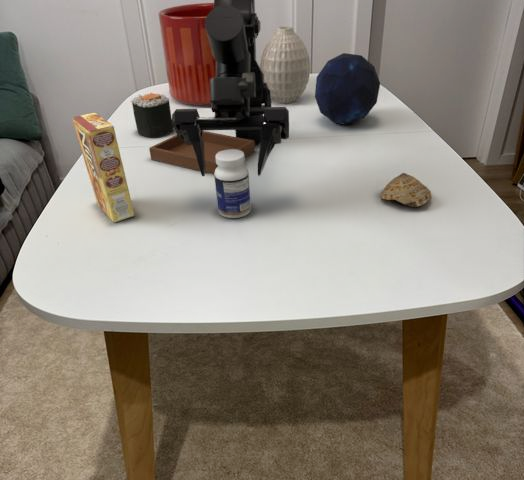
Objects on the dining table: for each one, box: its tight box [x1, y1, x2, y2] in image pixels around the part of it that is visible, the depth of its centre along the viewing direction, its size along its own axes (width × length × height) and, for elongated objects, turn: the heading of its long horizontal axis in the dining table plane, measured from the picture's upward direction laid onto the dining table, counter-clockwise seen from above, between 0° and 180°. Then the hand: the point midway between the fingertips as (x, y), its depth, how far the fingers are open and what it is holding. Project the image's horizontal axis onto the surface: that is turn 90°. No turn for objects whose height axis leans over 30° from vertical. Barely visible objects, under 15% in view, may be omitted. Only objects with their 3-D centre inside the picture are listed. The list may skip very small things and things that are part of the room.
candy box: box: [72, 112, 135, 223], centre depth 85 cm, size 9×4×15 cm, turn 33°
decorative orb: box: [314, 52, 381, 126], centre depth 116 cm, size 14×15×15 cm
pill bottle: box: [213, 149, 252, 219], centre depth 85 cm, size 6×6×10 cm
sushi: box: [130, 92, 174, 139], centre depth 118 cm, size 8×8×8 cm
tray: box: [148, 130, 256, 175], centre depth 107 cm, size 14×18×2 cm
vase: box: [259, 25, 311, 104], centre depth 130 cm, size 13×13×17 cm
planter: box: [158, 2, 216, 107], centre depth 135 cm, size 23×23×20 cm
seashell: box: [380, 172, 433, 208], centre depth 88 cm, size 8×6×8 cm
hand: (230, 174), depth 83 cm, fingers open, 9 cm apart
